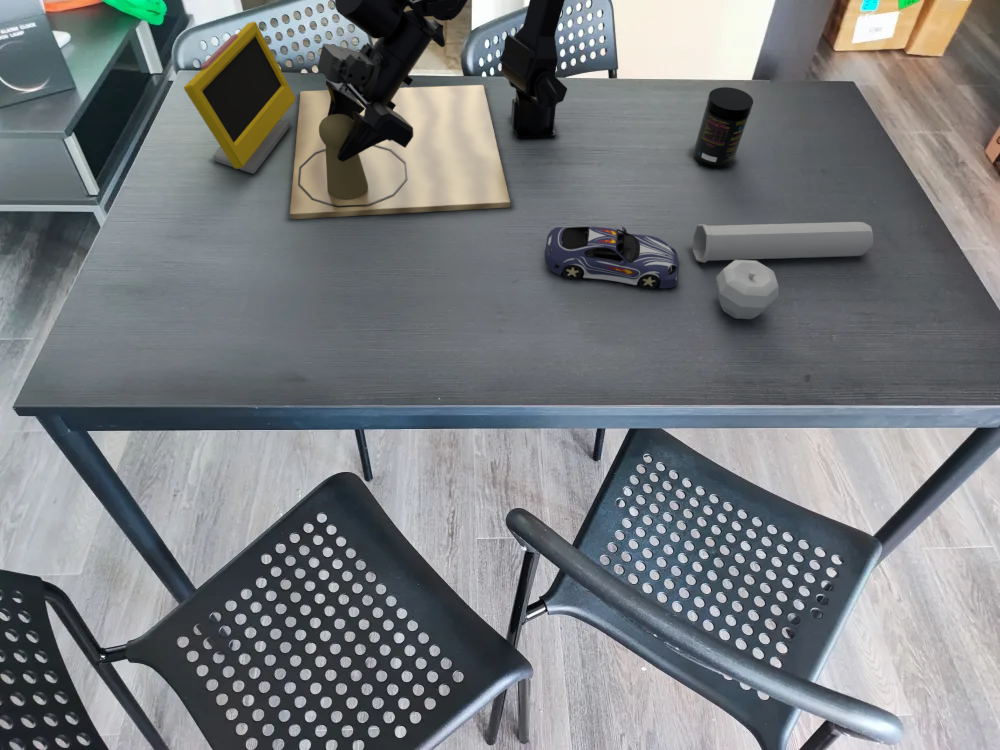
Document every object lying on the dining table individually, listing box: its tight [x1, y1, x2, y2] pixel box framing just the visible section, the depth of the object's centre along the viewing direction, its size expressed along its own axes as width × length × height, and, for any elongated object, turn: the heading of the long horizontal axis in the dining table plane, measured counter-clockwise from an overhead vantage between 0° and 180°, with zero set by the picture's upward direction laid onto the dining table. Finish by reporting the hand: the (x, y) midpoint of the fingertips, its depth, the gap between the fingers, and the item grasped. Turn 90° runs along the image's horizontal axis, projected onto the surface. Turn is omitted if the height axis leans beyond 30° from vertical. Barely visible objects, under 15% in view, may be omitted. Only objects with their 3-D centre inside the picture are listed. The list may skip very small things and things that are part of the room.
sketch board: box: [289, 84, 511, 220], centre depth 113 cm, size 32×34×1 cm
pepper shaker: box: [319, 114, 368, 199], centre depth 101 cm, size 6×6×11 cm
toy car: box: [543, 225, 680, 290], centre depth 96 cm, size 8×18×5 cm, turn 82°
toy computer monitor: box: [183, 21, 297, 174], centre depth 106 cm, size 20×8×16 cm, turn 168°
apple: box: [715, 259, 779, 320], centre depth 90 cm, size 8×8×7 cm
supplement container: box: [692, 86, 754, 169], centre depth 111 cm, size 7×7×10 cm
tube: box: [692, 221, 875, 263], centre depth 99 cm, size 5×5×25 cm
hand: (332, 150), depth 99 cm, fingers closed on pepper shaker, 5 cm apart
